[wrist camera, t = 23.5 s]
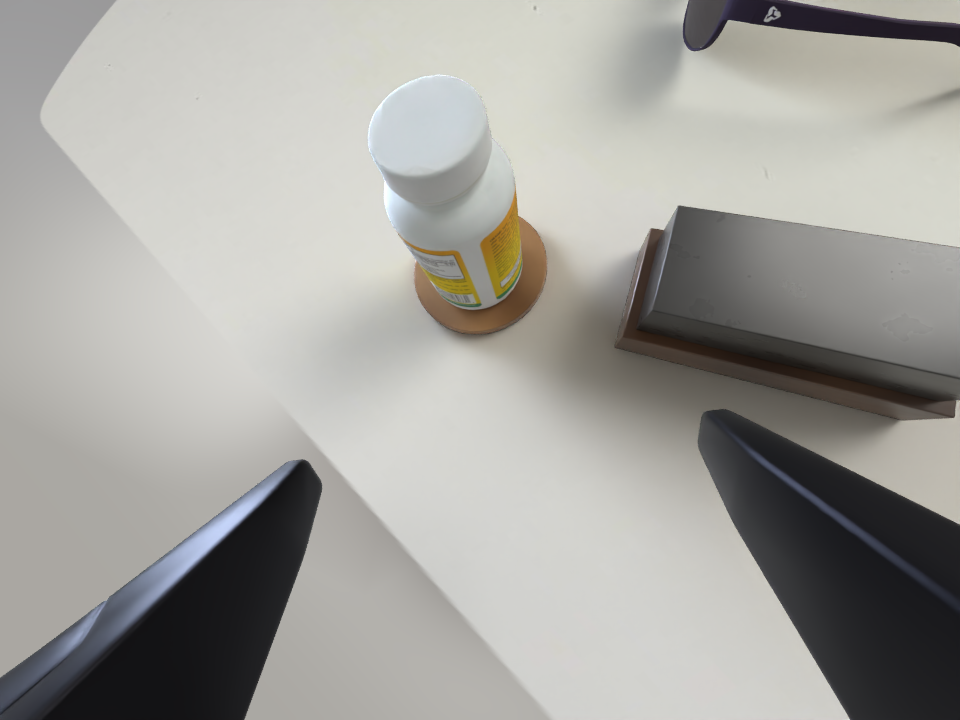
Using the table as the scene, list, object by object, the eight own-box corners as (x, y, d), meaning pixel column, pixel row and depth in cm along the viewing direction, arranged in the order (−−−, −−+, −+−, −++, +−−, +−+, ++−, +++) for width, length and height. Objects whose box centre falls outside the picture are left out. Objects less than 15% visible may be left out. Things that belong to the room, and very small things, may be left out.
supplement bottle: (447, 325, 19) (362, 223, 10) (424, 248, 21) (332, 98, 12) (537, 292, 19) (531, 154, 10) (507, 216, 20) (477, 32, 11)
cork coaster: (494, 360, 19) (492, 358, 19) (392, 291, 21) (388, 287, 21) (573, 250, 20) (574, 244, 19) (467, 194, 22) (465, 187, 21)
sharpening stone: (917, 299, 16) (1053, 248, 12) (903, 421, 15) (1046, 413, 11) (640, 248, 19) (668, 193, 15) (613, 347, 18) (636, 318, 14)
